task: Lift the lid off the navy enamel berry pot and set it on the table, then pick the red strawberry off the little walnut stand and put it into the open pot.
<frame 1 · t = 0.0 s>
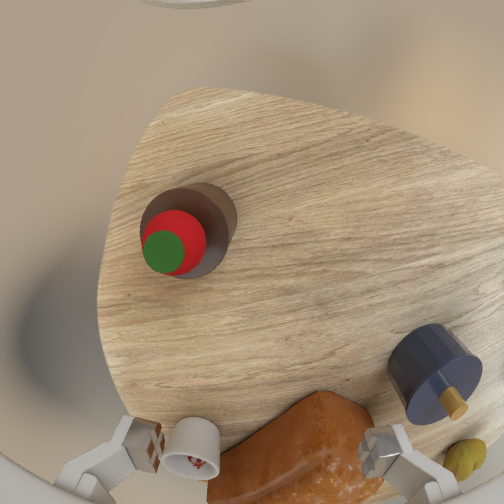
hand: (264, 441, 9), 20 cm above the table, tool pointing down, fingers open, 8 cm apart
stand: (201, 218, 28), on the table
pot lid: (445, 390, 25), point 7 cm above the table, touching pot
bread: (287, 443, 37), on the table
pot: (421, 356, 32), on the table
fruit: (455, 444, 40), on the table
cup: (190, 425, 37), on the table
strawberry: (182, 235, 21), point 7 cm above the table, touching stand
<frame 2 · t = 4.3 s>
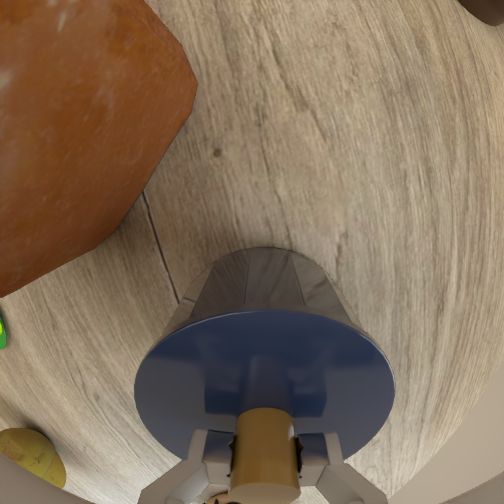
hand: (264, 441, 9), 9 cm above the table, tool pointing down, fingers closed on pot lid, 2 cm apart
donut: (251, 502, 27), on the table
pot lid: (264, 414, 11), point 8 cm above the table, touching gripper, pot
bread: (35, 88, 14), on the table
pot: (264, 326, 18), on the table
fruit: (44, 437, 26), on the table
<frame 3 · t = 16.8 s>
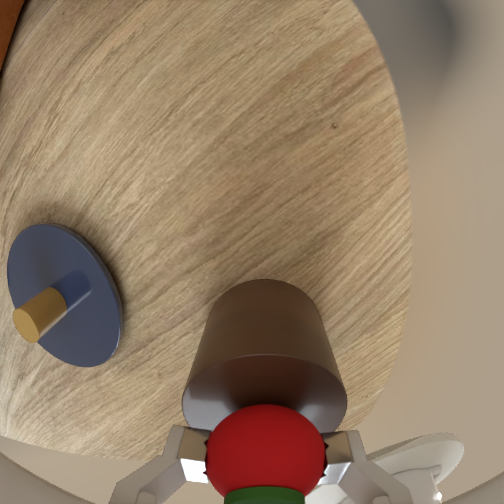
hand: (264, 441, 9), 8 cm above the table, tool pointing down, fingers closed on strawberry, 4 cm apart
stand: (264, 331, 17), on the table
pot lid: (59, 299, 17), point 1 cm above the table
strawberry: (265, 417, 11), point 7 cm above the table, touching gripper, stand
when the fingers open (7 cm above the table, at t = 26.1 s): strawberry stays where it is and tips over, resting on pot.
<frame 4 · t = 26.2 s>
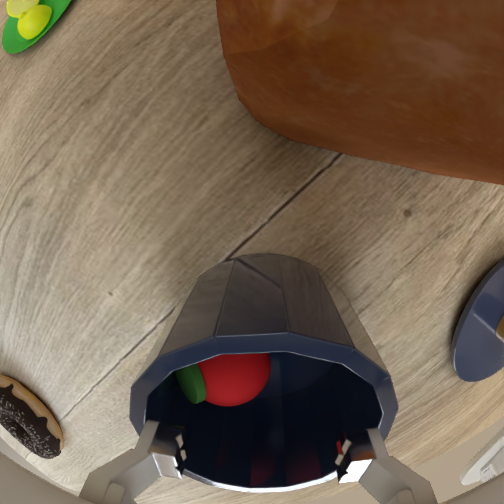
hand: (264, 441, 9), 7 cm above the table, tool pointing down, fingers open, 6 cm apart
green dish with lemons: (42, 10, 10), on the table
donut: (31, 409, 21), on the table
pot lid: (501, 320, 15), point 1 cm above the table
pot: (263, 338, 16), on the table
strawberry: (261, 351, 15), point 1 cm above the table, tilted 51°, touching pot
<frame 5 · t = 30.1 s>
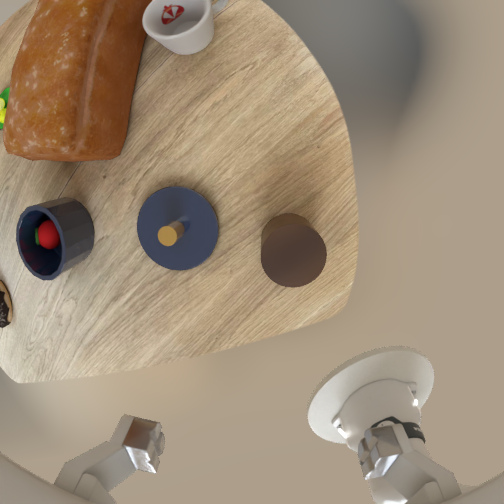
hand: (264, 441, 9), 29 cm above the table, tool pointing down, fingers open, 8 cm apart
green dish with lemons: (7, 108, 32), on the table
stand: (288, 240, 37), on the table
donut: (0, 298, 43), on the table
pot lid: (176, 228, 36), point 1 cm above the table
bread: (101, 75, 31), on the table
pot: (68, 231, 38), on the table
cup: (199, 31, 29), on the table
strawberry: (63, 232, 36), point 1 cm above the table, tilted 51°, touching pot
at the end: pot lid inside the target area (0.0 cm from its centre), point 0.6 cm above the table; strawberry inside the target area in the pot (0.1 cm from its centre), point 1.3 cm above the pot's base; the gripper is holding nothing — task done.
